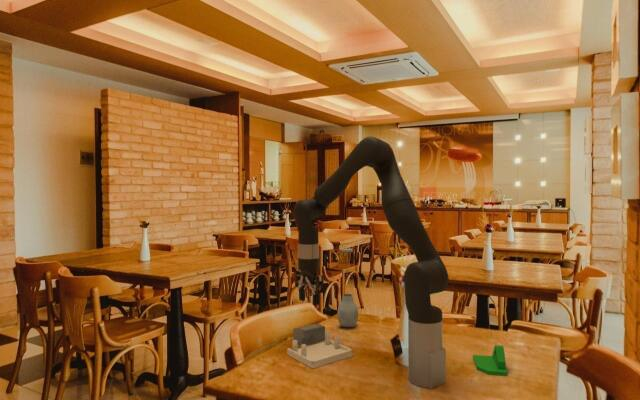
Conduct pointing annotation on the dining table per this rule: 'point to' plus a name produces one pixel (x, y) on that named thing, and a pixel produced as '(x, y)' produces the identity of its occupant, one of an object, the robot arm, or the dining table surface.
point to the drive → (309, 334)
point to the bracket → (492, 362)
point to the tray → (320, 352)
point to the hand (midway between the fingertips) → (309, 302)
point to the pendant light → (347, 306)
